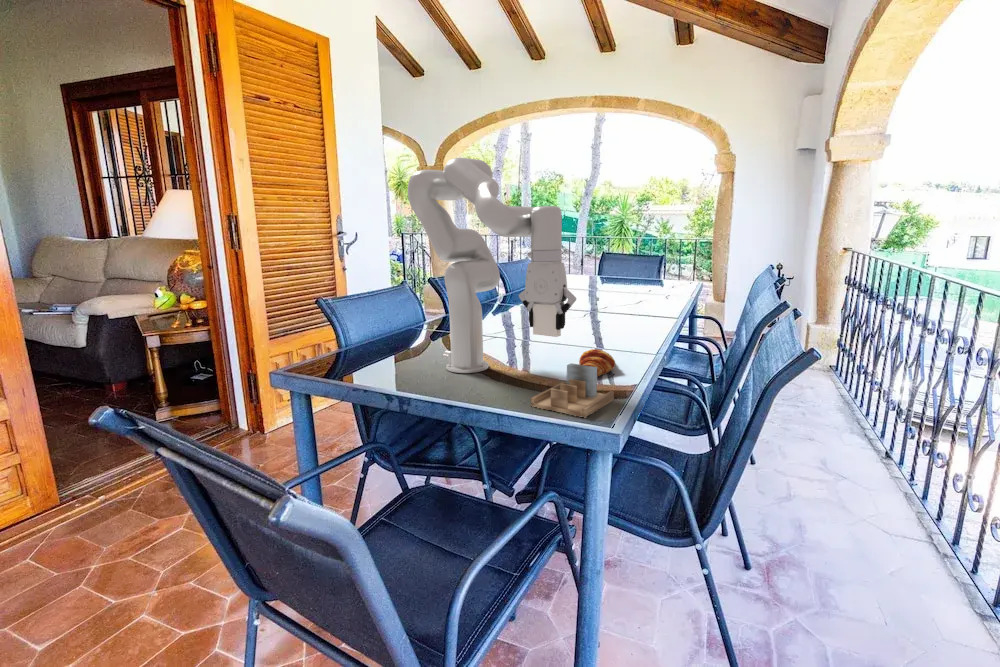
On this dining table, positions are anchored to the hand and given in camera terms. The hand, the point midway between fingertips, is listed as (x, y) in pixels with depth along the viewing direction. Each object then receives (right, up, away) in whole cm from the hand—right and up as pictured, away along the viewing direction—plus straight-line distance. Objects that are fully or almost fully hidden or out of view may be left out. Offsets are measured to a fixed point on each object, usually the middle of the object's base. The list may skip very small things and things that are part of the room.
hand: (546, 326), depth 134 cm
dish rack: (+5, -18, -10) cm, 21 cm away
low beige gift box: (0, -2, 0) cm, 2 cm away
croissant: (+16, -13, +17) cm, 27 cm away
